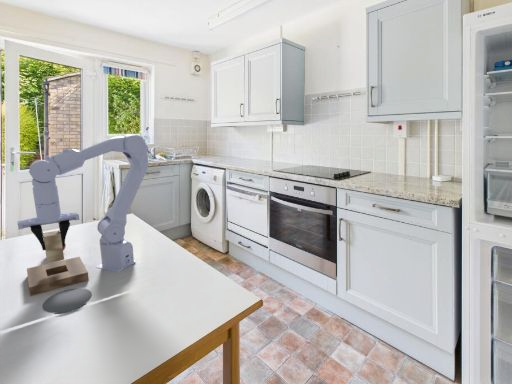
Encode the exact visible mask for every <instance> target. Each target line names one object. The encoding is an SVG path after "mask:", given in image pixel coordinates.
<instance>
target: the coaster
mask: <svg viewBox="0 0 512 384" xmlns="http://www.w3.org/2000/svg"><path fill="white" fill-rule="evenodd" d="M92 296H93V294H92V291H91V290H89V289H87V288H83V287H82V288H70V289H67V290H63V291H59V292H57V293H55V294H53V295H51V296H49V297H48V298H46V300H45V301H44V302H43V304H42V309H43V310H44V311H45V312H48V313H53V315H60V314H67V313H70V312H74V311H76V310H78V309H81V308H83V307H84V306H86V305H87V304H88V303H87V302H89V301H90V299H91V298H92Z"/></svg>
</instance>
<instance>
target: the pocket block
mask: <svg viewBox="0 0 512 384" xmlns="http://www.w3.org/2000/svg"><path fill="white" fill-rule="evenodd" d="M26 274H27V280H28V281H27V283H28V284H27V285H28V289H29V296H30V297H32V296H36V295H40V294H43V293H44V294H45V293H47V292H51V291H54V290H58V289H62V288H65V287H69V286H73V285H76V284H79V283H80V284H81V283H84V282H87V281H90V278H89V272H88V270H87V268H86V266H85V264H84V262H83V261H82V258H81V257H80V256H76V257H72V258H68V259H67V258H66V259H64V260H60V261H55V262H51V263H46V264H41V265H36V266H32V267H28V268H26Z"/></svg>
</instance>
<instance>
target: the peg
mask: <svg viewBox="0 0 512 384" xmlns="http://www.w3.org/2000/svg"><path fill="white" fill-rule="evenodd" d="M43 239H44V243H45V248H46V250H44V251H45V256H46V261H47V264H49V263H53V262H58V261H62V260H65V256H64V255H65V254H64V250H63V247H62V240H61V234H60V229H59V230H58V229H57V230H53V231H46V232H43Z"/></svg>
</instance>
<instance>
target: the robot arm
mask: <svg viewBox="0 0 512 384" xmlns="http://www.w3.org/2000/svg"><path fill="white" fill-rule="evenodd" d="M148 149H149V146H148V145H147V143H146V141H145V140H144V138H143V137H142V136H140V135H138V134H128V133H127V134H122V135H121V136H119V135H118V136H113V137H110V138H108V139H105V140H103V141H100V142H97V143H95V144H93V145H90V146H87V147H86V148H83V149H80V150H77V149H74V148H70V149H68V148H63V149H62V151H61V152H59V153H56V154H53V155H51V156H49V155H45V156H44V159H45V160H44V159H37V160H35V161H33V162H32V163H31V164H30V166H29V170H28V172H29V174H30V176H31V177H32V181H31V184H32V194H33V200H34V207H35V214H36V217H32V218H27V219H24V220H17V227H18V228H17V229H18V230H23V229H28V228H30V231H31V233H32V234H33V235H34V236H35V237H36V238H37V240H38V242H39V243H40V246H41V248H42V251H45V250H46V248H45V243H44V238H43V233H44V232H43V228H42V226H44V225H51V224H58V227H59V228H58V229H59V231H60V234H61V240H62V247H63V246H65V244H66V237H67V233H68V230H69V229H70V227H71V222H70V221H80V214H79V212H71V213H70V212H68V213H67V212H66V213H61V204H60V197H59V191H58V190H59V189H58V185H57V184H56V177H57V176H62V175H65V174H67V173H69V172H72V171H74V170H78V169H80V168H82V167H83V166H84V163H85V161H88V160H90V159H93V158H96V157H99V156H102V155H104V154H108V153H110V152H115V153H116V152H117V153H122V154H124V156H125V157H126V159H127V161H128V162H129V165H130V166H129V169H128V170H127V173H126V175H125V177H124V180H123V182H122V184H121V186H120V188H119V190H118V192H117V195H116V197H115V199H114V201H113V203H112V205H111V207H110V209H109V210H108V211H107V212H106V214H105V215H104V217H103V218H102V219H100V220H99V222H97V226H96V227H97V231H98V233H99V234H100V235H101V236H100V239H99V248H100V256H101V257H100V260H101V263H100V264H98V265H97V266H96V267H95V268H97V269H102V270H107V271H112V272H122V271H123V270H125V269H126V268H128V267H129V266H133V264H135V263H136V262H137V261H136V260H135V257H134V248H133V244H132V243H131V242H130V241H127V240H126V239H125V234H126V229H125V228H126V225H127V221H128V220H127V215H128V213H129V210H130V208H131V207H132V203H133V202H134V200H135V198H136V195H137V193H138V190H139V189H140V186H141V184H142V182H143V180H144V178H145V175H146V174H147V170H148V169H149V158H148V157H149V156H148Z"/></svg>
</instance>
